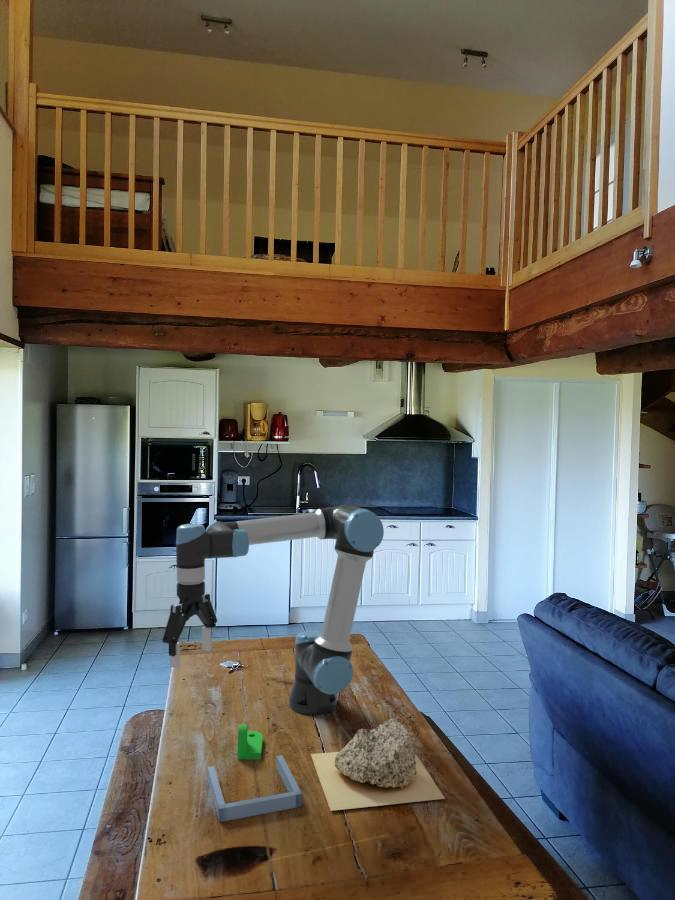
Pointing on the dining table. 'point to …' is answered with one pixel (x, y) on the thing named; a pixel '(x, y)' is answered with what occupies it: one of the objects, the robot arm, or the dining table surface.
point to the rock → (375, 770)
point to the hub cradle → (257, 804)
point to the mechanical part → (249, 743)
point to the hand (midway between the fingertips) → (191, 658)
